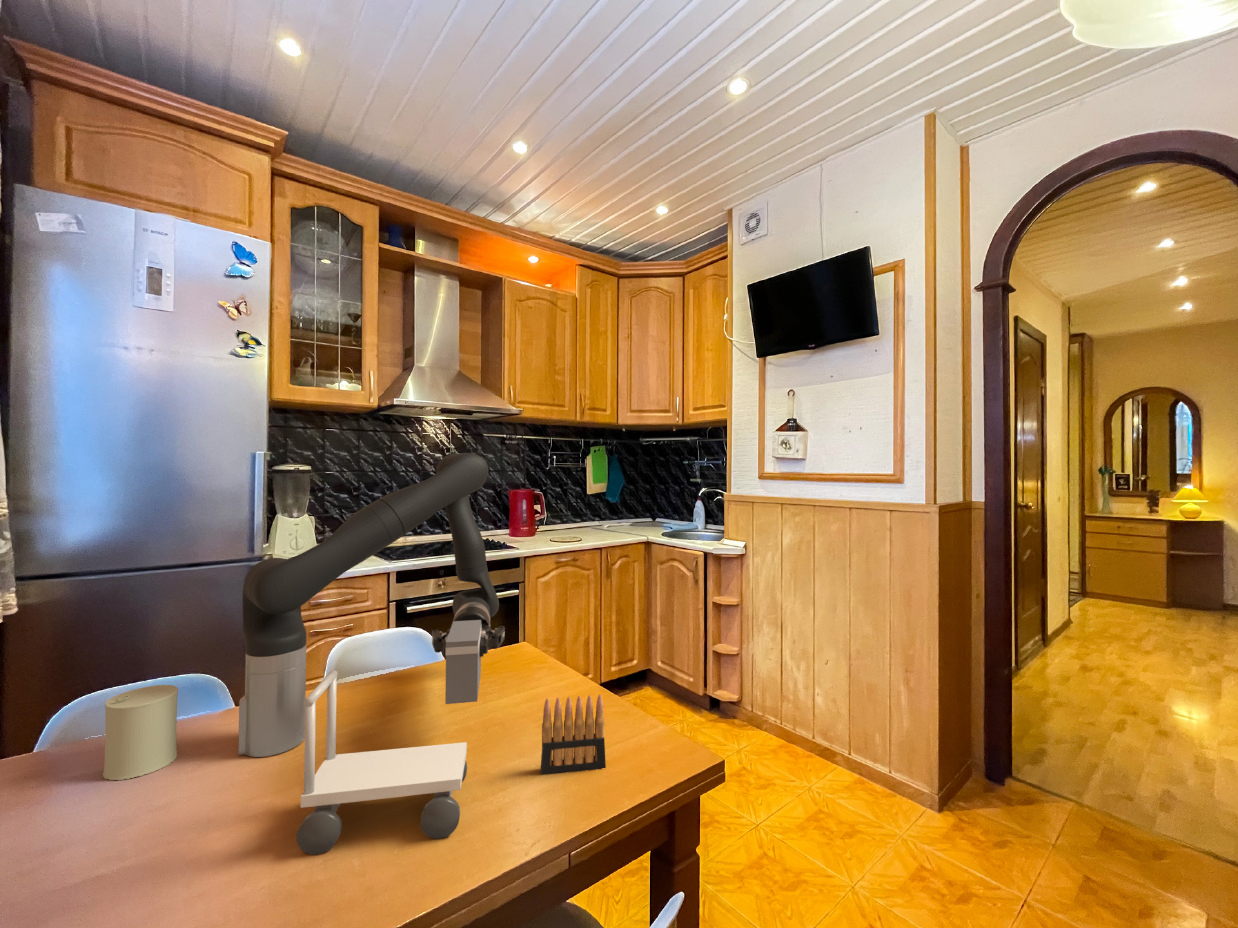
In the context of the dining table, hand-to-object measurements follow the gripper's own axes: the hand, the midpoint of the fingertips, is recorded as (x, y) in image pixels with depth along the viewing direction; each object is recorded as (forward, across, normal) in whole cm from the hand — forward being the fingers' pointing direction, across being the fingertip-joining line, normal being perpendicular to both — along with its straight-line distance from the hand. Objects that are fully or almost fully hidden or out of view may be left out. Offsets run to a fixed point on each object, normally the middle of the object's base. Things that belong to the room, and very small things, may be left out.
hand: (465, 651), depth 91 cm
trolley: (+15, -9, +18) cm, 25 cm away
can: (-8, -53, +18) cm, 56 cm away
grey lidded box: (0, 0, +6) cm, 6 cm away
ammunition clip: (+8, +18, +18) cm, 27 cm away
